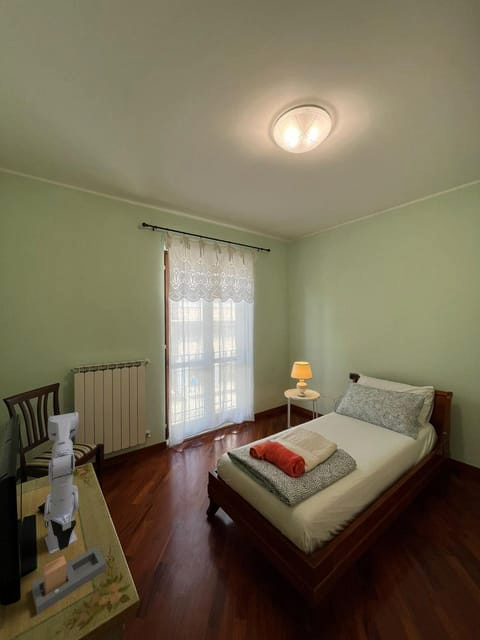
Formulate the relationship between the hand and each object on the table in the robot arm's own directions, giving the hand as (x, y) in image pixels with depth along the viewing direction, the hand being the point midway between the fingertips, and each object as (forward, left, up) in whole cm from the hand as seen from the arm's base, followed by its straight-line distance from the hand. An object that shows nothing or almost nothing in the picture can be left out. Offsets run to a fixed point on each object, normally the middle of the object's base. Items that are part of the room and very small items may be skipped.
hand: (60, 540), depth 78 cm
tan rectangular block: (+5, -2, -10) cm, 11 cm away
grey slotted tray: (+5, +2, -10) cm, 11 cm away
